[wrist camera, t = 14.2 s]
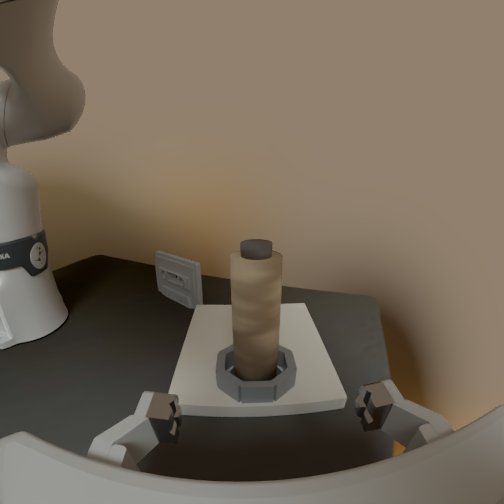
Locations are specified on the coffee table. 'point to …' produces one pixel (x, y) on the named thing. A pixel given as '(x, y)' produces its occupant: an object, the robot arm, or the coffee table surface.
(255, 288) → the wooden leg
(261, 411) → the plate
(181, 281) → the cassette
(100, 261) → the coffee table surface
